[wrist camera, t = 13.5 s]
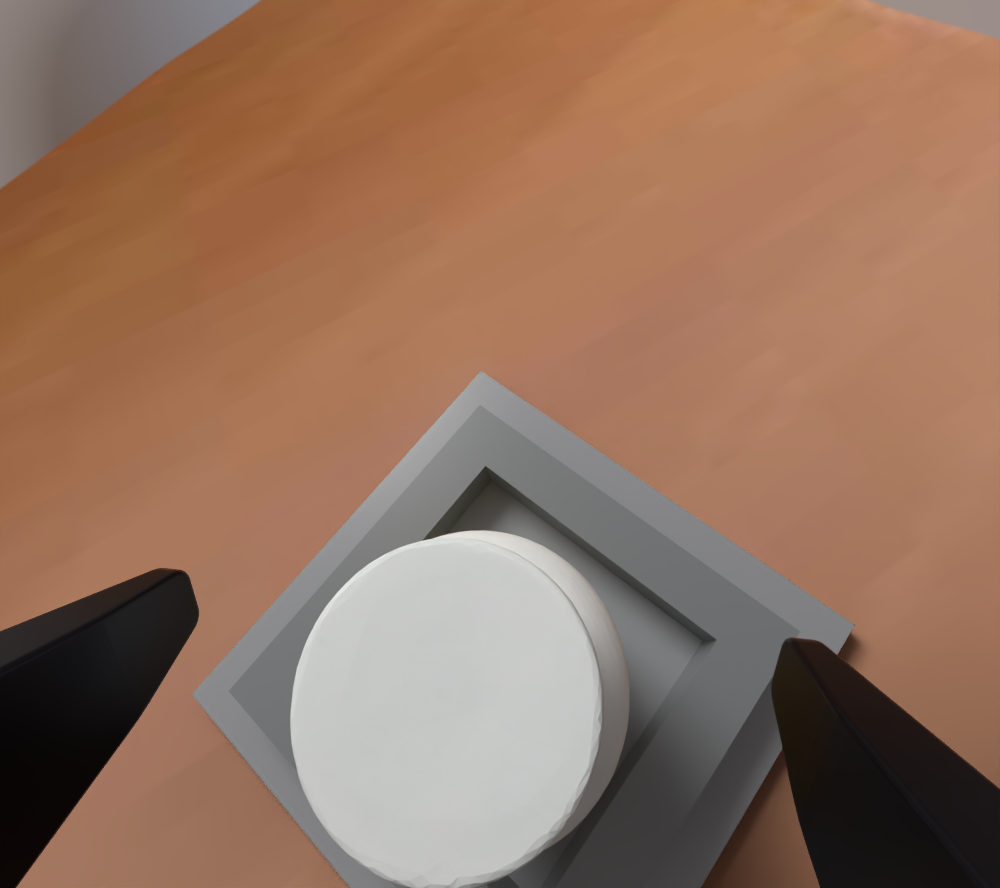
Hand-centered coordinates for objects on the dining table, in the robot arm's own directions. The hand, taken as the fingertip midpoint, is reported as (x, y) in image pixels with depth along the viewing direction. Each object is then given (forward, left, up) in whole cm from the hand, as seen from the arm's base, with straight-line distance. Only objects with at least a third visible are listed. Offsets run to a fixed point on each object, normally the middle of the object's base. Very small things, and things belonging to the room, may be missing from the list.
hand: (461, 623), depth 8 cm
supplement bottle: (-1, 0, -9) cm, 9 cm away
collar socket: (-1, 0, -9) cm, 9 cm away
